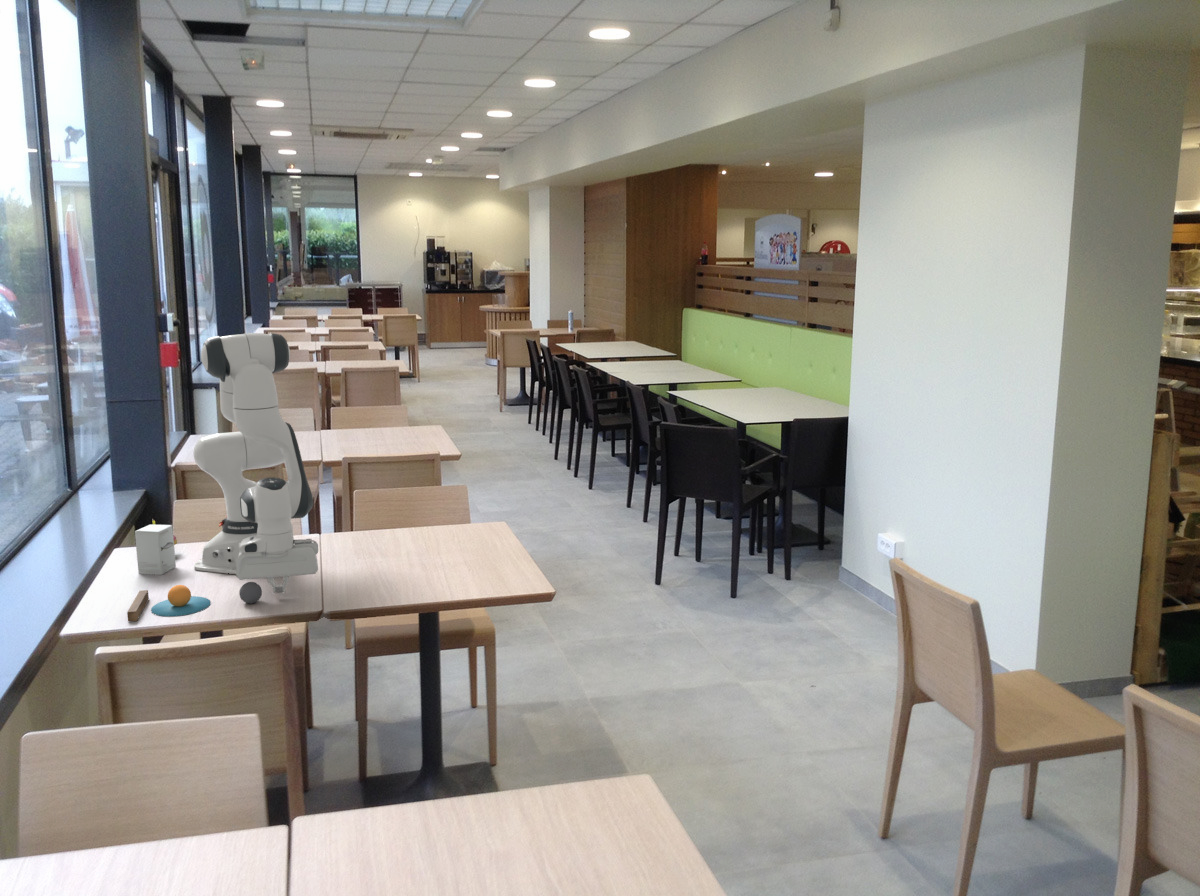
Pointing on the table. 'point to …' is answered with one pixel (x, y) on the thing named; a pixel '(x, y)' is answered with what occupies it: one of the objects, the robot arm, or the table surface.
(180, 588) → the orange ball
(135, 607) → the wall
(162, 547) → the supplement box
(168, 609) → the teal mark
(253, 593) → the gray ball
